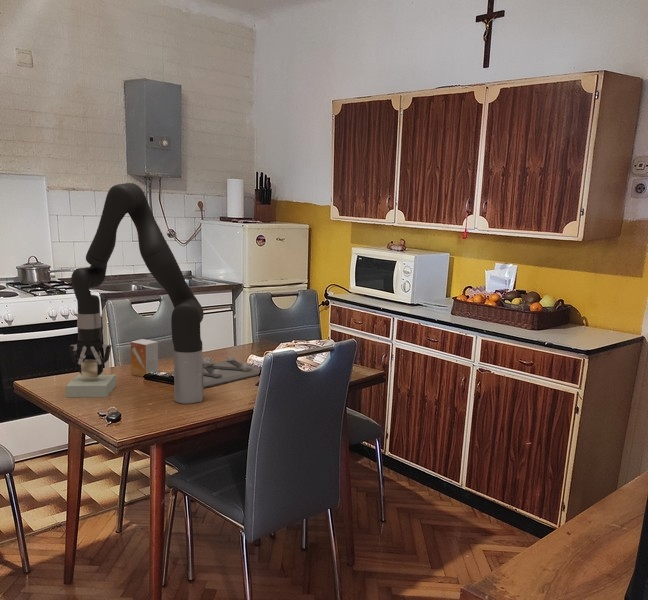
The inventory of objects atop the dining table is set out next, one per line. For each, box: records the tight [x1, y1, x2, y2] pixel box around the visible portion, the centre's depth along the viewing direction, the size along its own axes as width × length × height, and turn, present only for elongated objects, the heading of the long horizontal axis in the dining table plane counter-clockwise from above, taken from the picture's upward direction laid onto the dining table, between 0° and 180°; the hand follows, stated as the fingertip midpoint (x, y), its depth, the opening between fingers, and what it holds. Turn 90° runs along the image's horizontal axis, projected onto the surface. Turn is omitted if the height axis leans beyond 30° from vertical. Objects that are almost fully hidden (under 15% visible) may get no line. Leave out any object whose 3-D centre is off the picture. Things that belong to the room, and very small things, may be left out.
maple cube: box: [80, 359, 99, 378], centre depth 199 cm, size 5×5×5 cm
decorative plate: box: [170, 355, 261, 389], centre depth 223 cm, size 30×22×7 cm
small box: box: [130, 338, 159, 378], centre depth 221 cm, size 8×6×13 cm
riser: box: [65, 374, 117, 398], centre depth 200 cm, size 13×13×4 cm
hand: (91, 374), depth 200 cm, fingers closed on maple cube, 5 cm apart
